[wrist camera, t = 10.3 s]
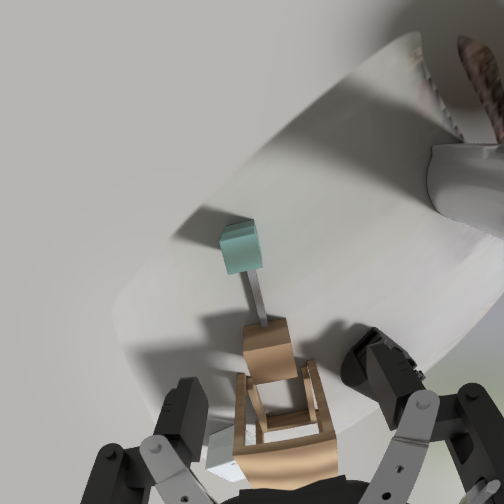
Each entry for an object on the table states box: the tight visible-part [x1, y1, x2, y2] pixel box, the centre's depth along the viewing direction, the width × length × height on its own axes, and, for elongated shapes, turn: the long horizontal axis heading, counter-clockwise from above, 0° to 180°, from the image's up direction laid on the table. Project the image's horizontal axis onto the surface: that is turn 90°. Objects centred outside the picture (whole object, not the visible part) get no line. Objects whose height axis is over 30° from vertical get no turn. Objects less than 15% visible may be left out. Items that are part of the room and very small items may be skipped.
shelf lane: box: [232, 359, 338, 490], centre depth 30 cm, size 12×10×13 cm
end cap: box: [340, 327, 425, 402], centre depth 32 cm, size 10×7×7 cm
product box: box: [206, 425, 256, 482], centre depth 36 cm, size 6×6×7 cm
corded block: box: [219, 220, 298, 385], centre depth 29 cm, size 17×5×6 cm, turn 13°
